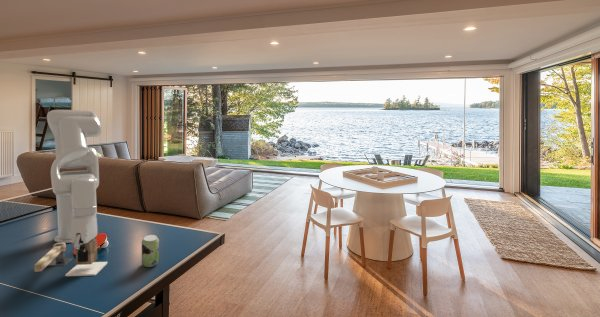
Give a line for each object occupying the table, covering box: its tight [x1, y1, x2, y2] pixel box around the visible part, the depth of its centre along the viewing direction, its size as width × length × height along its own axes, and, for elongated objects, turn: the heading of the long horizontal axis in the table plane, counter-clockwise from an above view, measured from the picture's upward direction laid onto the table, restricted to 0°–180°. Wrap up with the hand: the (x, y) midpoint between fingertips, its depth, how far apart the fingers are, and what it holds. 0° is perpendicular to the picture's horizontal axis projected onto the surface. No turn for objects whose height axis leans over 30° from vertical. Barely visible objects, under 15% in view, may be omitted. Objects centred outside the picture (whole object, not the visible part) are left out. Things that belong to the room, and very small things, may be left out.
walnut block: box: [75, 238, 98, 266], centre depth 122 cm, size 5×5×8 cm
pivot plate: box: [46, 257, 73, 267], centre depth 128 cm, size 6×6×1 cm
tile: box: [64, 261, 108, 277], centre depth 123 cm, size 10×10×1 cm
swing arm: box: [33, 242, 67, 273], centre depth 120 cm, size 20×4×6 cm, turn 17°
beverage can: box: [141, 234, 160, 268], centre depth 127 cm, size 6×7×12 cm
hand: (86, 257), depth 122 cm, fingers closed on walnut block, 5 cm apart
